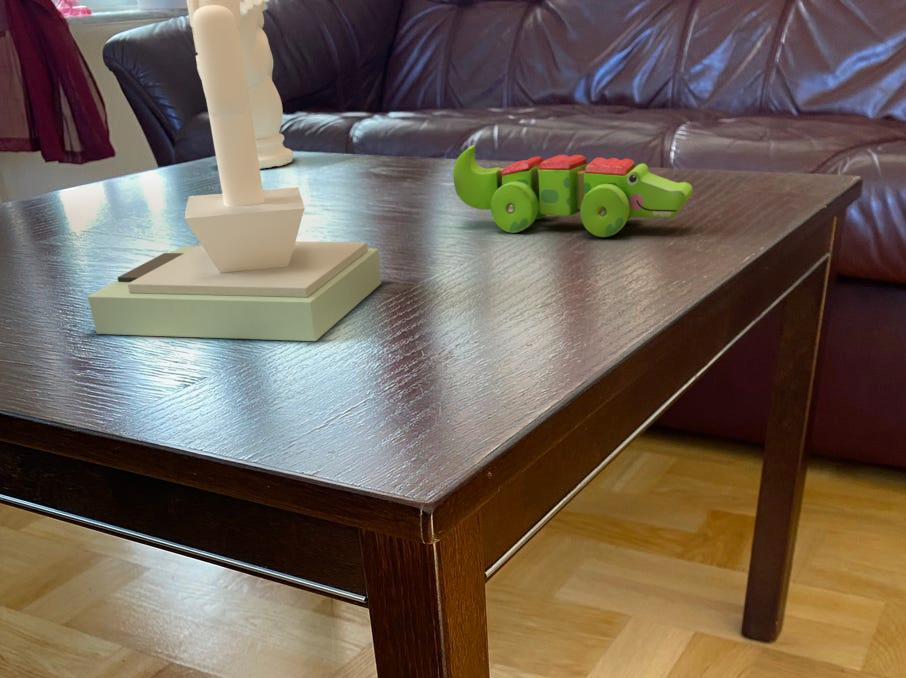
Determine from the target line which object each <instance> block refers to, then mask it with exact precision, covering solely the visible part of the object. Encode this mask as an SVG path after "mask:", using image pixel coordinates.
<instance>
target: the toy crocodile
mask: <svg viewBox="0 0 906 678" xmlns="http://www.w3.org/2000/svg"><path fill="white" fill-rule="evenodd" d="M475 152H476V144H472V145H470V146H469V147H468V148H467V149H465V150H463V152H461V154H460V155H459V156H458V157H457V159H456V161H455V162H454V166H453V173H452V177H453V184H454V185H453V186H454V189H455V192H456V194H457V197H458V198H459V199H460V200H461V201H462V202H463V203H464V204H465V205H467V206H469V207H471V208H473V209H477V210H483V211H484V210H485V211H489V210H490V213H491V216H492V219H493V221H494V222H495V224H496V225H497V226H498V227H499V228H500V229H501V230H502V231H505V232H507V233H519V232H522V231H524V230H526V229H528V228H529V227H530V226H532V224H534V222H535V221H536V220H541V219H544V218H545V217H547V216H561V217H562V216H566V217H570V216H573V215H576V214H578V213H579V215H580V220H581V223H582V225H583V226H584V228H585V229H586V230H587V231H588V232H589V233H590V234H591V235H593V236H595V237H599V238H607V237H611V236H614V235H616V234H617V233H619V231H621V230H622V229H623V228H624V227H625V225H626V224H627V222H628V221H629V220H630V219H631V218H649V219H650V218H651V219H652V218H653V219H655V218H656V219H660V218H661V219H672V218H674V217H676V215H678V213H679V212H680V211H681V210H682V208H683V207H684V205H685V204H686V203H687V202H688V200H689V199H690V198H691V197H692V195H693V193H694V188H693V186H692V184H690V183H689V182H687V181H681V182H676V181H674V180H671V179H668V178H665V177H662V176H659V175H657V174H654V173H651V172H650V171H649V167H648V165H647V164H646V163H639V164H637V165H635V161H634V160H633V159H630V158H624V159H618V158H616V157H610V158H609V159H607V158H604V157H596V158H594V159H593V160H592V161H591V162H589V163H587V162H588V160H587V157H585V156H584V155H581V154H573V155H571V156H568V155H566V154H558V155H556V156H553V157H550V158H546V159H545V160H544V159H543V157H542V156H534V157H530V158H528V159H527V160H525V159H523V160H519V161H516V162H514V163H511V164H510V165H507V166H505V167H503V168H501V167H491V168H484V167H482V166H480V165H479V164H478V163H477V161H476V157H475Z"/></svg>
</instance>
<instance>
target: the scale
mask: <svg viewBox="0 0 906 678" xmlns="http://www.w3.org/2000/svg"><path fill="white" fill-rule="evenodd" d="M379 253H380V252H379V248H368V243H367V242H363V241H295V245H294V249H293V252H292V256H291V259H290V263H289V267H278V268H267V269H256V270H245V271H234V272H224V273H220V272H219V270H218V269H217V267H216V266H215V264H214V263H213V261H212V260H211V258H210V257H209V255H208V254H207V252H206V251H205V249H204V248H203V246H202V245H201V244H199V245H195V246H194V245H183V246H181V247H179V248H176V250H174V251H171V252H164V253H162V254H159V255H158V256H156V257H153V258H152V259H149V260H148V261H146V262H144V263H142V264H140V265H139V266H136V267H134V268H133V269H131V270H129V271H127V272H125V273H123V274H121V275H119V276H117V280H115V282H112V283H110V284H109V285H107V286H104V287H102V288H101V289H99V290H97V291H95V292H93V293H91V294H89V295H87V300H88V304H89V308H90V312H91V316H92V321H93V324H94V328H95V332H96V334H97V335H117V336H118V335H119V336H120V335H121V336H149V337H150V336H151V337H174V338H175V337H179V338H209V339H233V340H235V339H236V340H237V339H238V340H264V341H266V340H267V341H268V340H269V341H294V342H295V341H296V342H316V341H318V340H319V339H320V338H321V337H322V336H323V335H324V334H326V333H327V332H328V331H329V330H330V329H331V328H333V327H334V326H335V325H336V324H337V323H338V322H339V321H340V320H342V319H343V318H344V317H345V316H346V315H347V314H348V313H350V312H351V311H352V310H353V309H354V308H356V306H357V305H358V304H360V303H361V302H362V301H363V300H364V299H365V298H367V297H368V296H369V295H370V294H371V293H372V292H374V291H375V290H376V289H377V288H378V287H379V286H380V285H381V284H382V275H381V264H380V254H379Z"/></svg>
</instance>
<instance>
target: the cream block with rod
mask: <svg viewBox="0 0 906 678" xmlns="http://www.w3.org/2000/svg"><path fill="white" fill-rule="evenodd" d="M186 6H187V12H188V19H189V26H190V27H191V32H192V37H193V43H194V48H195V53H197V55H195V60H196V68H197V67H200V72H201V78H200V80H201V79H202V80H201V84H202V89H203V93H204V97H205V100H206V106H207V111H208V119H209V124H210V130H211V135H212V141H213V148H214V153H215V159H216V165H217V172H218V176H219V182H220V189H221V193H213V194H212V193H211V194H200V195H188V197H187V201H186V207H185V213H184V217H183V219H184V220H185V222H186V224H187V225H188V226H189V228H190V229H191V231H192V233H193V234H194V236H195V238H197V241H198V242H199V243H200V245H202V246H203V248H204V249H205V251H206V252H207V254H208V255H209V257H210V258H211V260H212V261H213V263H214V264H215V266H216V267H217V269H218V270H219V272H220V273H224V272H234V271H245V270H256V269H267V268H278V267H289V263H290V259H291V256H292V252H293V249H294V245H295V242H297V237H298V234H299V231H300V227H301V223H302V218H303V215H304V213H305V209H306V208H305V205H304V202H303V198H302V195H301V191H300V188H299V187H286V188H285V187H284V188H273V189H264V188H263V181H262V175H261V169H260V167H259V161H258V154H257V147H256V140H255V134H254V127H253V120H252V114H251V107H250V100H249V94H248V87H247V80H246V73H245V67H244V60H243V53H242V47H241V40H240V32H239V29H240V28H241V14H240V0H186Z"/></svg>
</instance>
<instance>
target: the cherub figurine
mask: <svg viewBox="0 0 906 678" xmlns="http://www.w3.org/2000/svg"><path fill="white" fill-rule="evenodd" d="M269 1H270V0H240V14H241V28H240V29H239V32H240V40H241V47H242V53H243V60H244V67H245V73H246V80H247V87H248V94H249V100H250V107H251V114H252V120H253V127H254V134H255V140H256V147H257V154H258V161H259V167H260V170H261V169H266V168H268V169H269V168H272V167H276V166H277V167H281V166H283V165H287V164H290V163H291V162H292V161H293V159H294V158H293V157H294V152H293V150H292V149H290V148H287V147H285V146H284V141H285V135H284V134H282V133H280V131H281V127H282V123H283V115H284V114H283V110H284V109H283V103H282V100H281V99H282V98H281V96H280V94H279V91H278V89H277V87H276V85H275V83H274V81H273V71H274V70H273V69H274V58H273V57H274V56H273V54H272V49H271V47H270V43H269V39H268V36H267V34H266V32H265V31H264V29H263V28H264V24H265V18H264V14H263V12H264V11H265V10H266V8H267V5H266V4H267V3H269ZM196 69H197V73H198V75H199V78H200V80H201V81H202V79H201V72H200V67H197V66H196Z"/></svg>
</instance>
